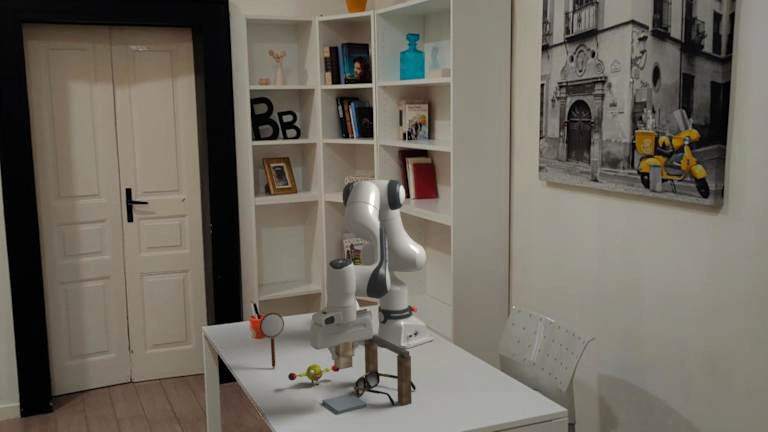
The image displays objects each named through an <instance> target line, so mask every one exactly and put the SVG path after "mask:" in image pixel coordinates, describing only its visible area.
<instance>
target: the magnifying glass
mask: <svg viewBox="0 0 768 432" xmlns="http://www.w3.org/2000/svg"><path fill="white" fill-rule="evenodd" d="M284 326H285V322H284V318H283V317H282V315H280V314H279V313H276V312H271V313H270V312H269V313H266V315H264V316H263V317H262V318H261V320H260V323H259V330H260V332H261V334H262V335H264V337H267V338H270V348H271V349H270V350H271V351H270V353H271V367H272V369H275V368H276V349H275V348H276V347H275V346H276V345H275V338H276V337H278V336H279V335H280V334H281V333H282V332H283V330H284Z"/></svg>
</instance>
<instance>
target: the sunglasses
mask: <svg viewBox="0 0 768 432" xmlns="http://www.w3.org/2000/svg"><path fill="white" fill-rule="evenodd" d="M380 377H384V378H391V379H396V380H397V375H393V374H388V373H381V372H379V370H378V371H376V370H373V371H371V372H368V373H366V374H363V375H362V376H360V377H359V378H358V379H357V380H355V385H354V386H353V388H354V390H355V391H356V395H357V396H362V395H364V393H365V392H366V393H367V392H368V393H372V394H376V395H377V394H378V395H386V396H387V397H388V399H389V401H390V404H391V405H392V406H393V407H394V406H395V401H394V399H393V398H392V396H391V395H390V394H389V393H388V392H384V391H380V390H376V389H372V388H374V387H376V386H377V385H379V384H380ZM366 387H369V388H366ZM411 389H412V390H414V391H416V390H417V388H416V385H415V384H414V382H413V381H412V380H411Z"/></svg>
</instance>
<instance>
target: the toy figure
mask: <svg viewBox="0 0 768 432" xmlns="http://www.w3.org/2000/svg"><path fill="white" fill-rule="evenodd" d="M331 370H332V371H333V372H335V373H337V372H339V371H340V370H341V369H339V368H337V367H336V366H334V364H333V365H332V367H331V368H324V369H323V368H322V367H321V366H320V365H318V364H311V365H309V366H308V367H307V369H306V371H305V372H303V373H299V374H296V373H295V372H290V373H289V374H288V375H287V378H288V380H289V381H294V380H296V379H297V377H300V378H302V377H307V378H308V379H309V380H310V381H311V384H310V385H311V387H312V386H315V384H316V385H317V386H318V385H320V383H319V380H320V379H321V378H322V376H323V374H324V373H326V372H327V373H329V371H331ZM314 382H315V384H314Z"/></svg>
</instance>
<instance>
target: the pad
mask: <svg viewBox="0 0 768 432" xmlns="http://www.w3.org/2000/svg"><path fill="white" fill-rule="evenodd" d="M322 404H323V405H324V406H326V407H327V408H328V409H330V410H331V411H332V412H334V413H336V414H337V415H341V414H344V413H348V412H352V411H355V410H359V409H363V408H366V407H368V403H367V402H366V401H364V400H362V399H361V398H359V397H358V396H356V395H355V394H353V393H351V392H350V393H345V394H342V395H337V396H334V397H330V398H329V397H328V398H325V399H322Z"/></svg>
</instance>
